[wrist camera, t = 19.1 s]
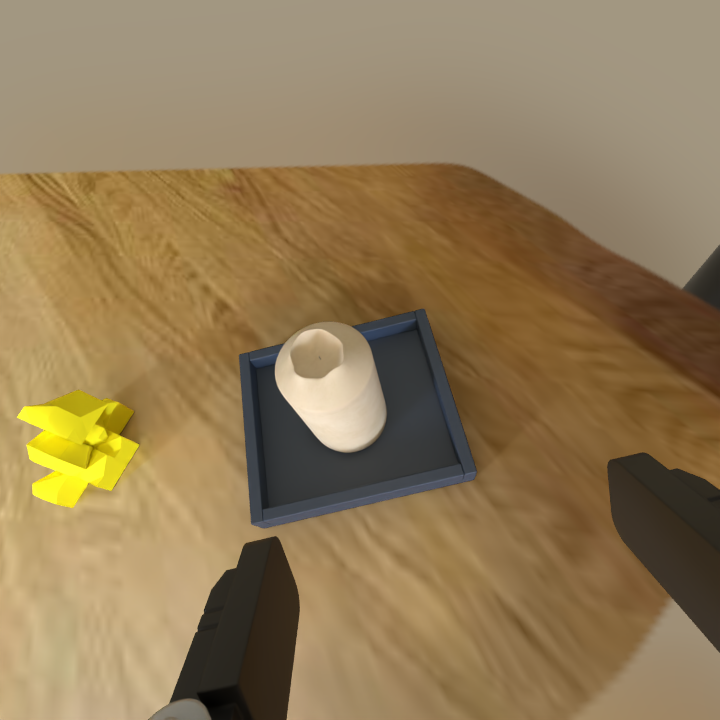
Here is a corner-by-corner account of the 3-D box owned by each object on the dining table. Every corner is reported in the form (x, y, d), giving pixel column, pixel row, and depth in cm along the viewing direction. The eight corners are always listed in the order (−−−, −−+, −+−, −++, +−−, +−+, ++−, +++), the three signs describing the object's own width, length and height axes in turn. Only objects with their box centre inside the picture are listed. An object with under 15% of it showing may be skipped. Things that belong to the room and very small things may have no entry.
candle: (402, 405, 31) (390, 336, 23) (357, 469, 30) (324, 422, 21) (342, 368, 33) (310, 291, 25) (297, 426, 32) (244, 366, 23)
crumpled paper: (37, 489, 34) (-64, 465, 27) (100, 397, 37) (23, 354, 30) (93, 518, 32) (1, 501, 25) (154, 420, 35) (86, 380, 28)
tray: (424, 323, 35) (424, 307, 33) (474, 479, 29) (477, 472, 27) (249, 367, 36) (238, 354, 34) (263, 528, 30) (250, 524, 28)
